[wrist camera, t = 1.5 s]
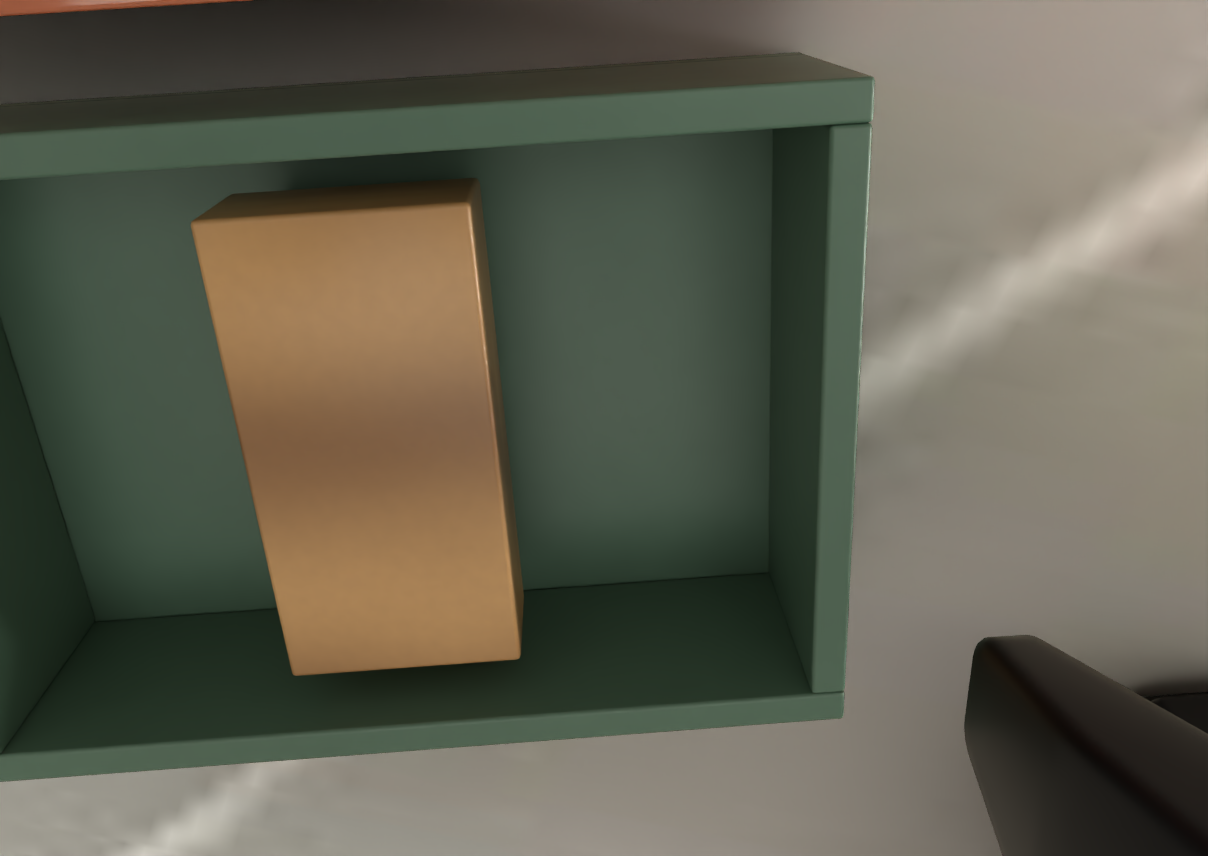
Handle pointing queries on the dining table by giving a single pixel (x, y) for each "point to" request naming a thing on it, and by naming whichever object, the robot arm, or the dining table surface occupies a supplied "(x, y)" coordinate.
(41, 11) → the terracotta tub
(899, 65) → the dining table surface
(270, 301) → the tan wooden block
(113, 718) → the green tub
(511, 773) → the dining table surface
